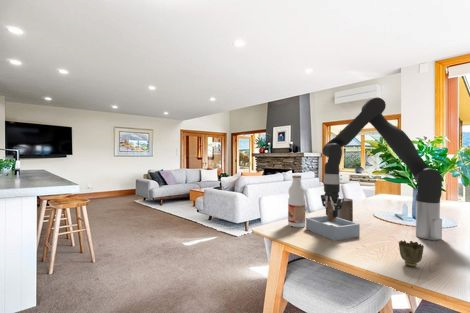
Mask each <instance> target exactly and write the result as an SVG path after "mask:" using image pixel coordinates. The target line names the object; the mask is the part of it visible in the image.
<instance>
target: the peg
mask: <svg viewBox="0 0 470 313" xmlns="http://www.w3.org/2000/svg"><path fill="white" fill-rule="evenodd" d="M334 204H336V203H334ZM335 208H336V205H335ZM327 221H330V222H335V221H336V218H334V217H333V206H332V205H331V201H328V203H327Z"/></svg>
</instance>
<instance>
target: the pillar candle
mask: <svg viewBox="0 0 470 313" xmlns="http://www.w3.org/2000/svg"><path fill="white" fill-rule="evenodd" d="M342 198H343V199H344V201H343V204H342V208H341V209H340V210H338V216H337V218H340V219H344V220H347V221H351V222H354V221H353V220H354V219H353V218H354V215H353V212H354V207H353V199H352V198H348V197H347V198H345V197H342Z"/></svg>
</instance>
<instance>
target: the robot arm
mask: <svg viewBox="0 0 470 313" xmlns="http://www.w3.org/2000/svg"><path fill="white" fill-rule="evenodd" d="M386 105H387V104H386V101H385V100H384V99H383V98H381V97H372V98H369V100H367V101H366V102H365V104H364V105H363V106H362V107H361V112H359V114H358V115H356V116H355V117H354V119H353V120H351V121H350V122H349V123H348V124H347V125H345V127H344V128H342V129H341V131H339V132H338V134H337V135H336V136H334V137H333V138H331V140H329V141H328V142H327V143H326V144H325V145H324V146H323V148H322V154H323V156H325V157H326V158H328V159H327V162H326V163H324V177H323V192H325V193H324V194H321V195H320V199H321V204H322V206H323V207H324V208H325V216H326V215H327V203H328V201H331V205H332V206H333V217H334V218H337V216H338V210H340V209H341V208H342V204H343V201H344V199H343V198H344V197H340V192H341V191H340V190H341V189H340V188H341V182H340V181H341V178H340V164H341V161H342V156H343V147H345V146H346V147H347V146H348V145H350V143H351V142H352V141H353V140H354V139H355V138H356V137H357V136H358V134H359V133H361V131H362V130H363V129H364V128H366V127H365V126H367V125H368V124H371V126H372V127H373V128H374V129H375V130H376V131H377V132H378V134H379V135H380V136H381V137H382V139H383V140H384V141H385V143H386V144H387V145H388V147H389V148H390V149H391V150H392V151H393V153H394V154H395V155H396V156H397V157H398V158H399V159H400V160H401V161H402V163H403V164H404V165H405V166H406V167H407V169H408V170H409V171H410V173H411V175H412V176H413V178H414V180H415V182H416V183H417V192H416V196H415V236H416V237H417V238H420V239H424V240H430V241H433V242H434V241H440V240H442V239H443V219H442V218H441V198H442V194H443V193H442V191H443V190H442V189H443V178H442V175H441V173H440V172H439V171H438V170H436V169H434V168H431V167H430V166H429V165H428V164H427V163H426V162H425V161H424V159H422V157H421V156H420V154H419V152H418V150H417V148H416V146H415V144H414V142H413V141H412V140H411V139H410V137H409V136H408V135H407V133H406V132H405V131H404V130H402V129H401V128H399V127H398V126H395V125H394V124H393V123H391V122H389V121H388V120H387V119H386V118H385V116H384V115H383V113H384V112H385V110H386V107H387V106H386ZM334 203H336V204H334ZM335 205H336V208H335Z"/></svg>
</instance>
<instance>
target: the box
mask: <svg viewBox="0 0 470 313" xmlns="http://www.w3.org/2000/svg"><path fill="white" fill-rule="evenodd" d="M360 228H361V227H360V223H356V222H354V221H353V222H351V221H347V220H344V219H340V218H336V221H335V222H330V221H327V215H326V214H325V215H320V216H312V217H305V230H307V229H308V230H307V231H309V230H310V231H309V232H312V233H314V234H316V233H317V234H316V235H320V236H321V235H322V236H321V237H324V238H326V237H327V238H326V239H329V240H331V241H334V242H336V241H337V242H338V241H342V240H346V239H353V238H358V237H360V235H361V234H360V233H361V232H360V231H361V230H360Z"/></svg>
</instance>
